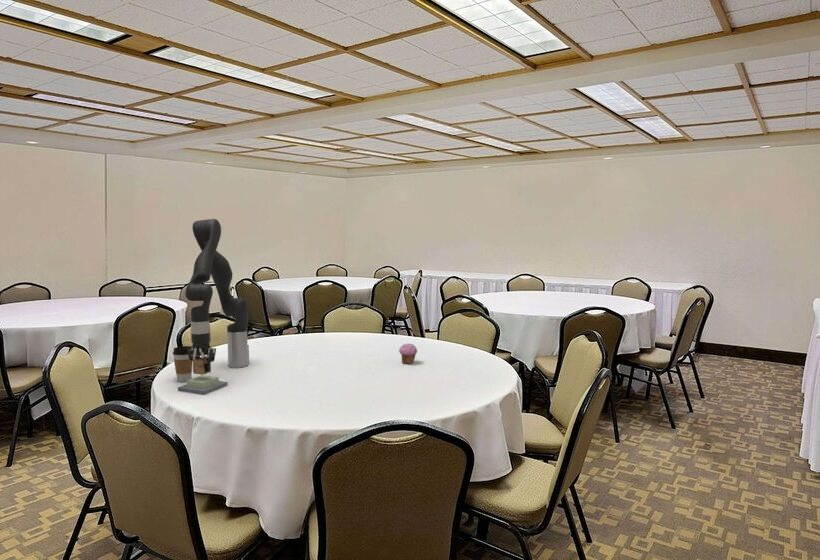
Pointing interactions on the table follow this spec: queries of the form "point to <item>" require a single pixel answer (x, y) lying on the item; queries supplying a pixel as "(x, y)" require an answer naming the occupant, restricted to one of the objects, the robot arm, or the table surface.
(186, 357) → the coffee cup
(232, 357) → the robot arm
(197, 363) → the walnut block
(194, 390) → the stack base
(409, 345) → the cupcake
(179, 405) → the table surface
